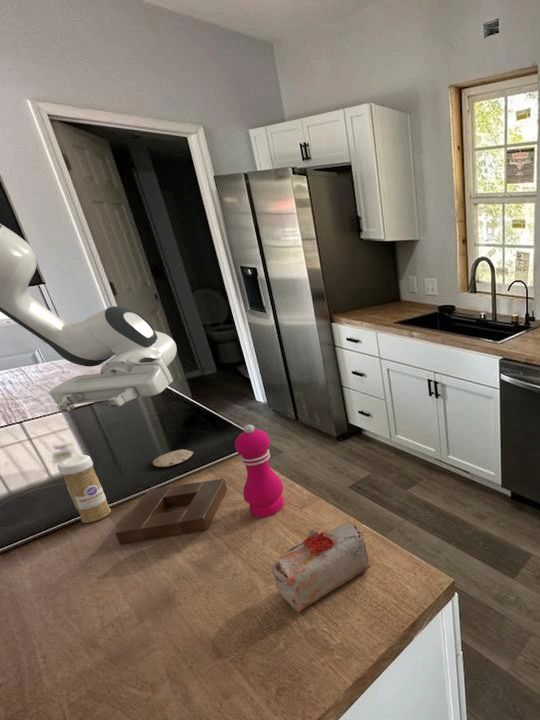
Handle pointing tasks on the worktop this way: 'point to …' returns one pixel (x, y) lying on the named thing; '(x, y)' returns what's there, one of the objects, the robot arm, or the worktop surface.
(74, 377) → the robot arm
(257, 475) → the pepper mill
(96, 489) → the sprinkles bottle
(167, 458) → the flatbread
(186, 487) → the socket block
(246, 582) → the worktop surface
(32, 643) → the worktop surface
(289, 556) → the food item
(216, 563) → the worktop surface
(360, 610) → the worktop surface
